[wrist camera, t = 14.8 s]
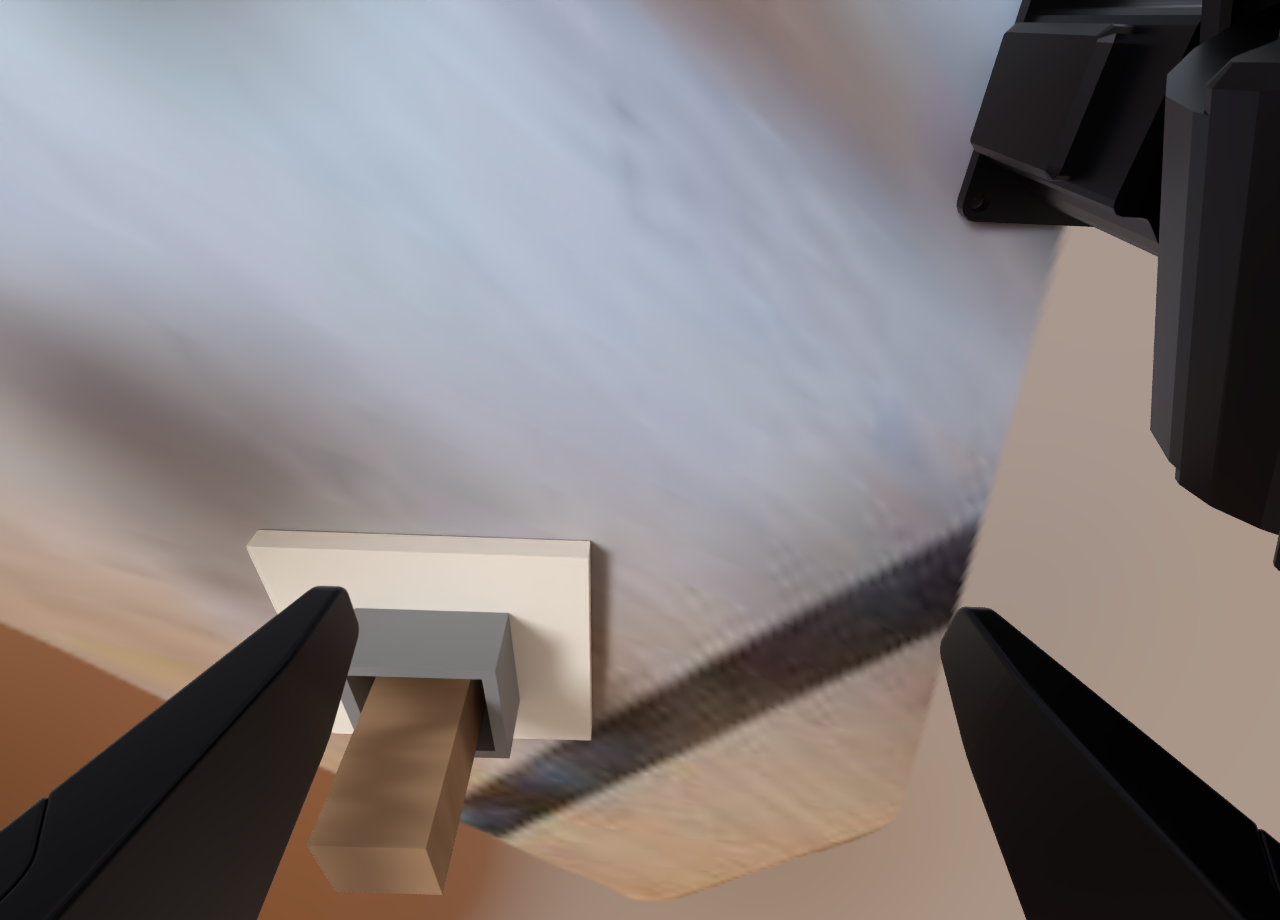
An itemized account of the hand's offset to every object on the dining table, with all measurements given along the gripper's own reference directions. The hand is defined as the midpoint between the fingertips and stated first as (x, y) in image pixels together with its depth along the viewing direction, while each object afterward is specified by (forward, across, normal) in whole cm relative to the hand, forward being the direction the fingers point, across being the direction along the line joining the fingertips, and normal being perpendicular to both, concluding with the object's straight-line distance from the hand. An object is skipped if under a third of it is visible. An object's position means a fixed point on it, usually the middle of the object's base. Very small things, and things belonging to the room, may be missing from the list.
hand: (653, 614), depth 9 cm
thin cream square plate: (+13, +9, +18) cm, 24 cm away
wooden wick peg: (+12, +9, +18) cm, 23 cm away
